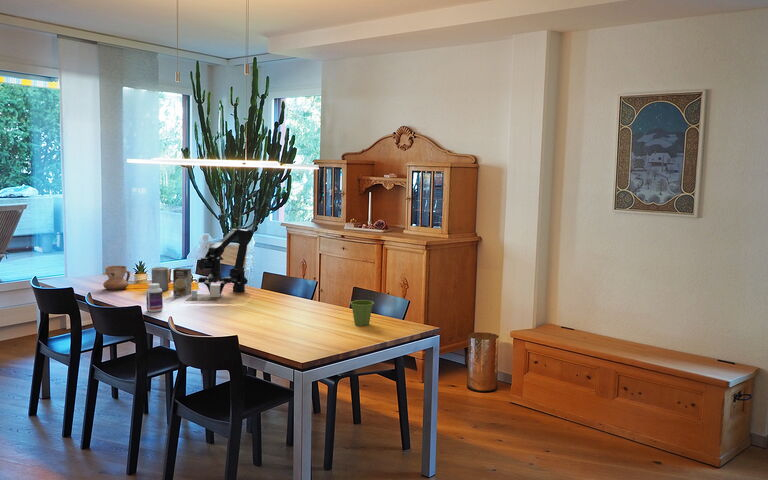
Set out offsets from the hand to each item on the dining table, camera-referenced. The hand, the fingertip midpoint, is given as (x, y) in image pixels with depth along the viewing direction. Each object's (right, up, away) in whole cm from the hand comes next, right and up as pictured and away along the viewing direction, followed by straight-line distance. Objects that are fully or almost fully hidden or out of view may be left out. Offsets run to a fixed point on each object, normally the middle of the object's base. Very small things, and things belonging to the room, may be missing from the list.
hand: (215, 294), depth 389 cm
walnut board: (-5, -3, -5) cm, 7 cm away
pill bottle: (-23, -6, -36) cm, 43 cm away
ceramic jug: (-67, +1, +22) cm, 70 cm away
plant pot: (+87, -11, -58) cm, 105 cm away
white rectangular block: (0, -1, 0) cm, 1 cm away
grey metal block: (-10, -2, -9) cm, 13 cm away
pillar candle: (-40, +1, +21) cm, 45 cm away
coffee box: (-21, -1, +6) cm, 22 cm away
